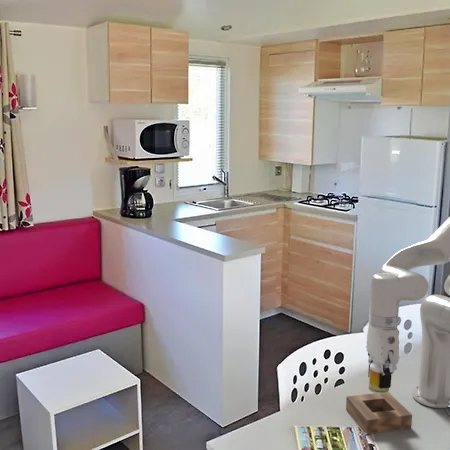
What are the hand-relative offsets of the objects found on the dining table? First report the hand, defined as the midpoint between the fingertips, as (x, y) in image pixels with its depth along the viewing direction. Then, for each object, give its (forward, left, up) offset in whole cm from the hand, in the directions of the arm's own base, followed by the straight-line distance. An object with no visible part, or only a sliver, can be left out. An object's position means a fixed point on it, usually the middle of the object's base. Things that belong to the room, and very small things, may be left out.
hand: (379, 381), depth 152 cm
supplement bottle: (0, 0, -3) cm, 3 cm away
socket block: (0, 0, -11) cm, 11 cm away
